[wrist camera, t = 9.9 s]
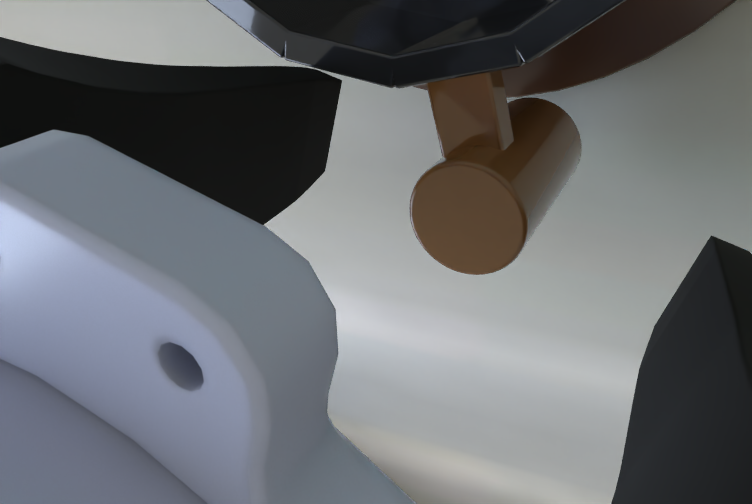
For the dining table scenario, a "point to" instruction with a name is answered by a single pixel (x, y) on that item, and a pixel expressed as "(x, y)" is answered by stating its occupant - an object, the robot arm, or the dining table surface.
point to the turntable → (611, 44)
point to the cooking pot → (451, 103)
